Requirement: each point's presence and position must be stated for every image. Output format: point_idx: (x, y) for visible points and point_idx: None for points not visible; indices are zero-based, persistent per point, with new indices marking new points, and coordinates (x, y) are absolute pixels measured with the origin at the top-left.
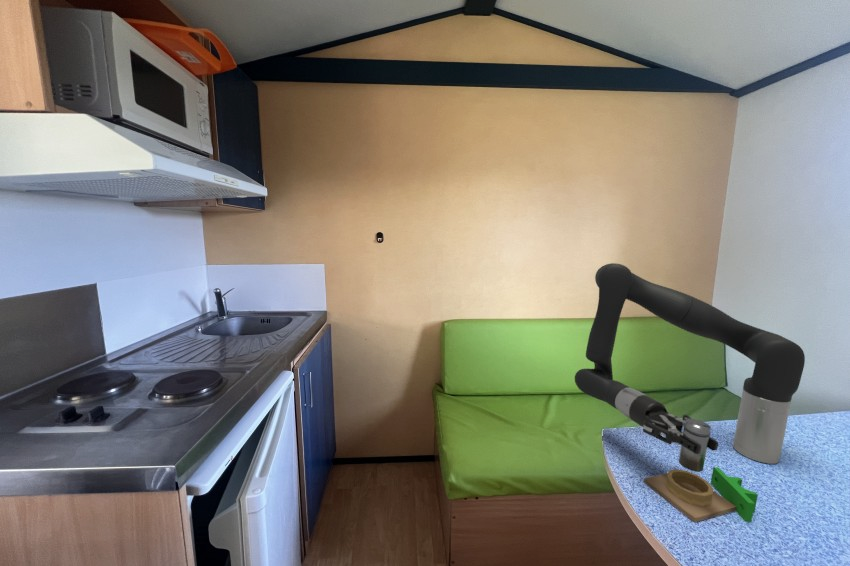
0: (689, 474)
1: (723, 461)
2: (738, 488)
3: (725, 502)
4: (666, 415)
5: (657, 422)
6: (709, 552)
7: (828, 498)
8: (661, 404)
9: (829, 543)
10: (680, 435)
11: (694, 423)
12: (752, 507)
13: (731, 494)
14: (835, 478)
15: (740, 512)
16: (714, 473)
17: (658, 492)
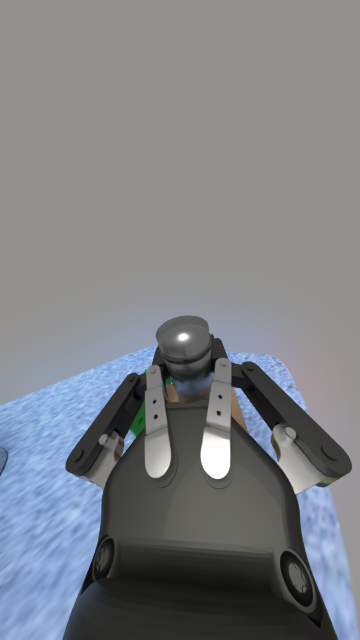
0: None
1: (39, 492)
2: None
3: (171, 391)
4: (151, 505)
5: (256, 446)
6: (241, 356)
7: (67, 384)
8: (117, 604)
9: (140, 353)
10: (223, 359)
11: (187, 331)
12: None
13: None
14: (12, 404)
15: (170, 379)
16: (134, 423)
17: None
